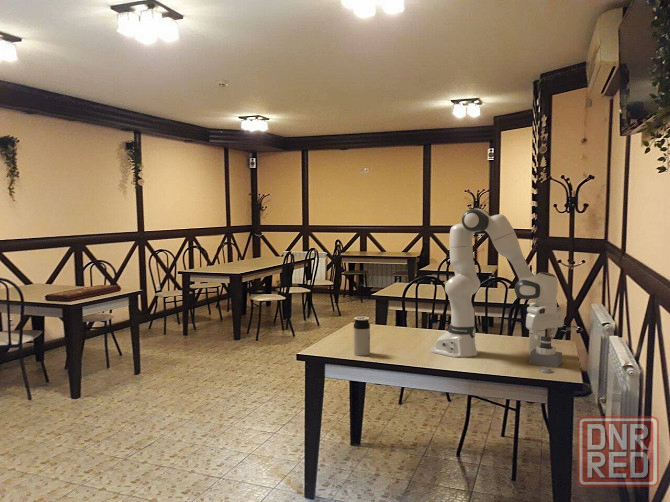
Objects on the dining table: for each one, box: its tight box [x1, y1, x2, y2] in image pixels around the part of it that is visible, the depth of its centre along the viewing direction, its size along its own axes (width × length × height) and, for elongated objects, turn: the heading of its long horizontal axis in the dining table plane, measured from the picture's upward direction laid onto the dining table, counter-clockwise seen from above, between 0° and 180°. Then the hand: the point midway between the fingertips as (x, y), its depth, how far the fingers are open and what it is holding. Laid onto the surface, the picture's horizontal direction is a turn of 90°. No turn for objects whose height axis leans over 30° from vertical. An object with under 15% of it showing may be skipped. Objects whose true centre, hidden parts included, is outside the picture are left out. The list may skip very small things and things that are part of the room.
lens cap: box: [539, 367, 553, 374], centre depth 221 cm, size 5×5×1 cm
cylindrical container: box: [528, 302, 546, 356], centre depth 247 cm, size 7×7×25 cm
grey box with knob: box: [529, 345, 563, 369], centre depth 233 cm, size 12×9×8 cm
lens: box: [541, 335, 552, 349], centre depth 233 cm, size 4×4×7 cm
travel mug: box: [353, 316, 371, 357], centre depth 252 cm, size 8×8×18 cm
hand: (544, 338), depth 233 cm, fingers open, 8 cm apart
